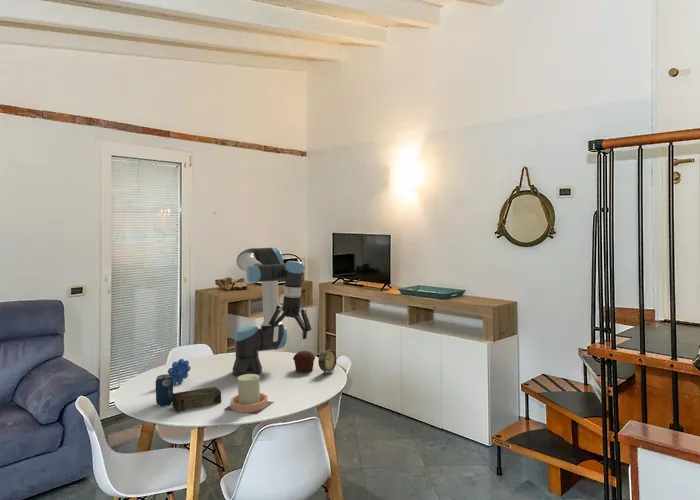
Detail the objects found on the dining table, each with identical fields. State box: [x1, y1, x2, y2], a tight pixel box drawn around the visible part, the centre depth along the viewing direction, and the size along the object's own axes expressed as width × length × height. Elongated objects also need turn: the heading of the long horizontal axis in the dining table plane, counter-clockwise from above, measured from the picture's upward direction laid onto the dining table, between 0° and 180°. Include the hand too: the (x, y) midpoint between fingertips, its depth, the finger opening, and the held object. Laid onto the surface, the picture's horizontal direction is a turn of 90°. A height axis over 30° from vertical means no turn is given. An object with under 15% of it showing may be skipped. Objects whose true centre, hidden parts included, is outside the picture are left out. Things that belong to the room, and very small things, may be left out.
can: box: [236, 374, 261, 405], centre depth 197 cm, size 9×9×12 cm
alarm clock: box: [317, 341, 337, 376], centre depth 242 cm, size 11×5×16 cm, turn 148°
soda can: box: [155, 373, 174, 407], centre depth 202 cm, size 7×7×12 cm
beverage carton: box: [172, 386, 222, 413], centre depth 199 cm, size 8×19×7 cm, turn 119°
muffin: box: [292, 350, 316, 374], centre depth 246 cm, size 12×11×10 cm
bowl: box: [229, 392, 268, 414], centre depth 197 cm, size 15×15×3 cm
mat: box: [223, 400, 275, 415], centre depth 197 cm, size 16×14×1 cm
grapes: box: [167, 358, 192, 386], centre depth 229 cm, size 12×7×12 cm, turn 134°
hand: (288, 343), depth 208 cm, fingers open, 13 cm apart
